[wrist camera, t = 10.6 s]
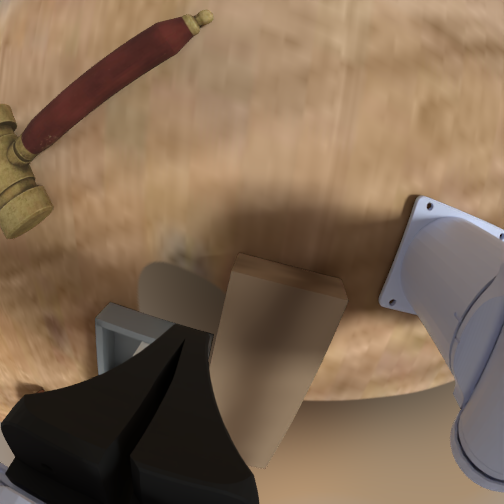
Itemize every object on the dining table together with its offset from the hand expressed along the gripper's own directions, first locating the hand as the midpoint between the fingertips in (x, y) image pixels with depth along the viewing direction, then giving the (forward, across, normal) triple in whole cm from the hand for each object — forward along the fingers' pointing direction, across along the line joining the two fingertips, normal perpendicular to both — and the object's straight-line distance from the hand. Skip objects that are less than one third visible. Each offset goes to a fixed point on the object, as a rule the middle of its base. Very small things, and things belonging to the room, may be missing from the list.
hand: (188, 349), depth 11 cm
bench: (+10, -4, +9) cm, 15 cm away
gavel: (+11, +12, -8) cm, 18 cm away
